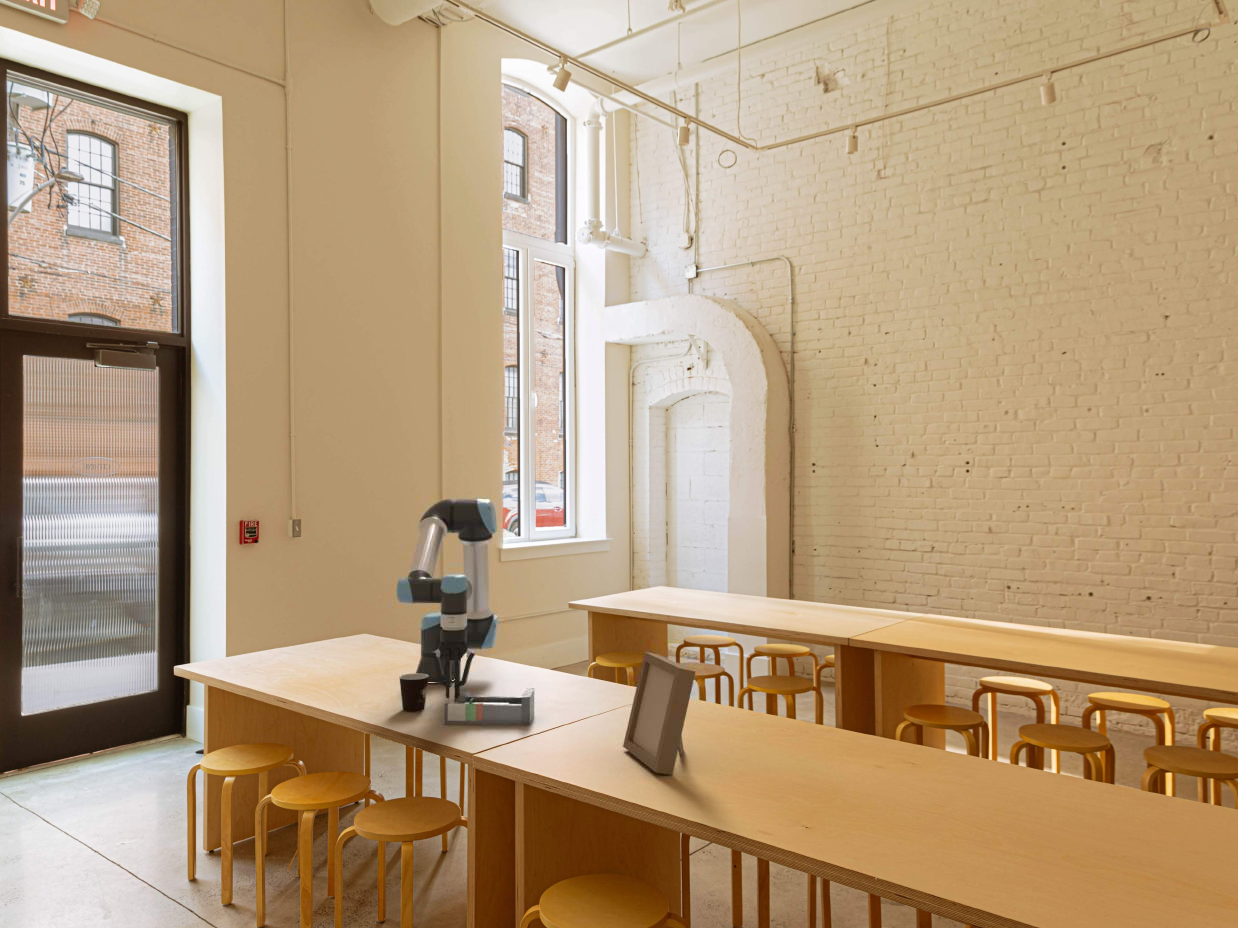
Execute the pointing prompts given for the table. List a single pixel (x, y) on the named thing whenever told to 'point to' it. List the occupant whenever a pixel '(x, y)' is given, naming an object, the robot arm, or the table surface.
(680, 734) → the photo frame
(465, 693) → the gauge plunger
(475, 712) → the gauge housing
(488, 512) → the robot arm
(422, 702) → the coffee mug
